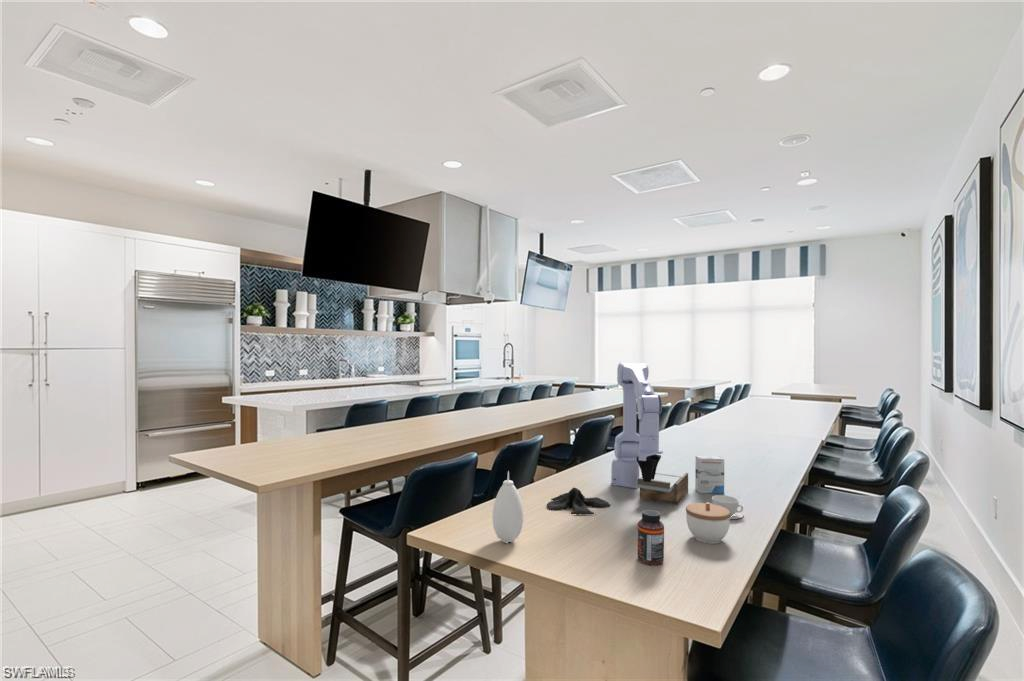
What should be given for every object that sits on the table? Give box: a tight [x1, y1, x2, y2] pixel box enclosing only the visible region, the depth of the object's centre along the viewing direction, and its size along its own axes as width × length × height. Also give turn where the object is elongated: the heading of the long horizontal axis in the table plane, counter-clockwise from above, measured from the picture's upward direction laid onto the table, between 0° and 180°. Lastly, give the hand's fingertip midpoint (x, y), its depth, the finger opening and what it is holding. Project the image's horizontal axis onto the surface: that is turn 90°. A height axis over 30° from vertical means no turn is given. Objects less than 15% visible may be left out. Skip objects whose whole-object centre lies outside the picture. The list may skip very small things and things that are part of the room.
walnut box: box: [638, 472, 689, 506], centre depth 168 cm, size 12×16×6 cm
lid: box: [637, 473, 682, 492], centre depth 163 cm, size 10×16×3 cm, turn 149°
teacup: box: [711, 494, 744, 520], centre depth 150 cm, size 10×10×5 cm
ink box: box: [694, 455, 725, 495], centre depth 173 cm, size 8×5×12 cm, turn 84°
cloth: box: [546, 487, 612, 514], centre depth 158 cm, size 22×19×6 cm
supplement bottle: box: [637, 509, 665, 566], centre depth 118 cm, size 6×6×11 cm
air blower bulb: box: [492, 470, 524, 543], centre depth 128 cm, size 8×8×18 cm
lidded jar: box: [685, 501, 731, 545], centre depth 131 cm, size 11×11×9 cm
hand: (648, 480), depth 152 cm, fingers open, 3 cm apart
